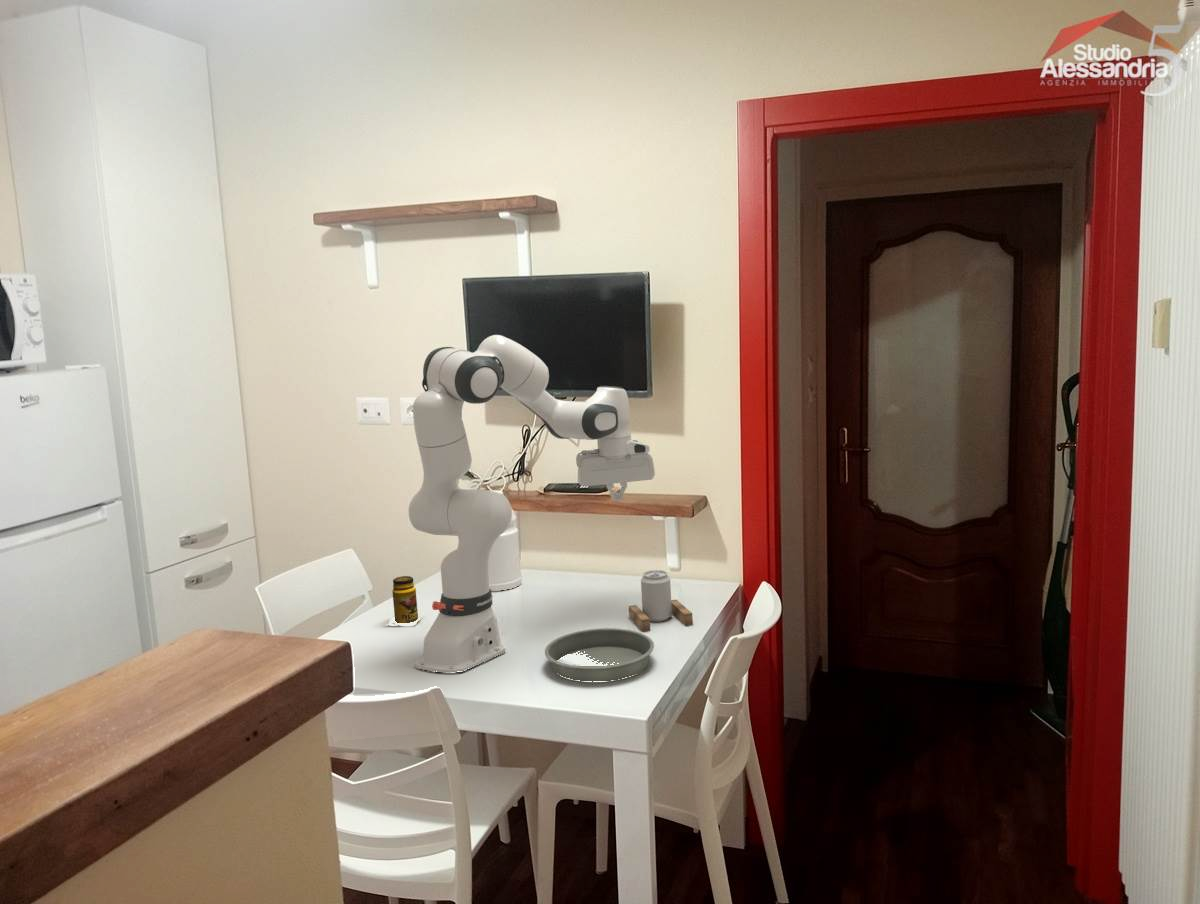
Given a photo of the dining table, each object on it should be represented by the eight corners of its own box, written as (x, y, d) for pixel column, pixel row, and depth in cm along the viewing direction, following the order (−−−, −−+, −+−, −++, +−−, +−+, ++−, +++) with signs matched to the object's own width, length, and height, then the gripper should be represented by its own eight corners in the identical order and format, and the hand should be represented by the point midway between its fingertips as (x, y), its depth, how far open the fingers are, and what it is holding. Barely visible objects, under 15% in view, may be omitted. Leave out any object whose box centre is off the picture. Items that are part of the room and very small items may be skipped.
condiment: (415, 626, 246) (411, 581, 244) (383, 627, 247) (379, 582, 245) (423, 617, 253) (419, 573, 251) (392, 618, 254) (388, 574, 252)
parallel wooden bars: (629, 617, 243) (628, 605, 243) (677, 610, 246) (676, 599, 246) (642, 631, 232) (642, 620, 231) (692, 624, 235) (692, 613, 234)
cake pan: (571, 642, 228) (570, 624, 228) (668, 650, 219) (668, 631, 219) (527, 681, 206) (525, 661, 205) (633, 692, 197) (632, 671, 196)
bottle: (508, 575, 288) (502, 485, 284) (530, 585, 277) (524, 491, 272) (466, 585, 281) (459, 492, 276) (487, 595, 269) (480, 499, 265)
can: (640, 622, 239) (637, 576, 237) (645, 613, 246) (643, 568, 244) (669, 623, 237) (667, 577, 235) (674, 613, 244) (672, 568, 242)
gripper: (578, 452, 240) (581, 506, 242) (655, 445, 245) (657, 497, 247) (573, 449, 246) (576, 501, 248) (648, 442, 251) (650, 493, 253)
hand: (617, 499), depth 248 cm, fingers closed
